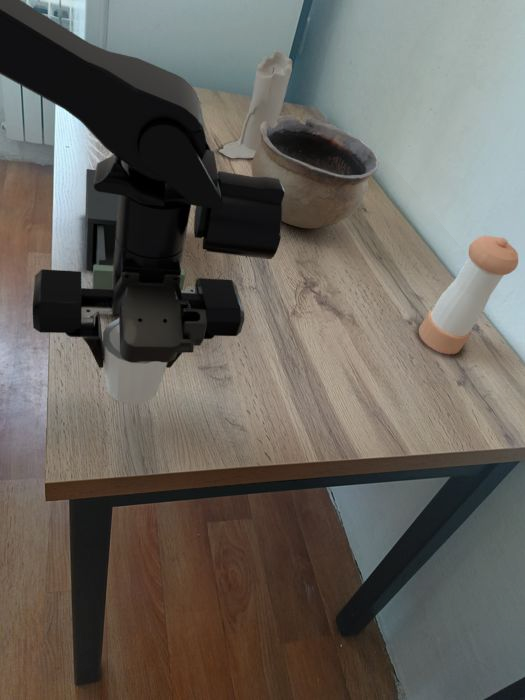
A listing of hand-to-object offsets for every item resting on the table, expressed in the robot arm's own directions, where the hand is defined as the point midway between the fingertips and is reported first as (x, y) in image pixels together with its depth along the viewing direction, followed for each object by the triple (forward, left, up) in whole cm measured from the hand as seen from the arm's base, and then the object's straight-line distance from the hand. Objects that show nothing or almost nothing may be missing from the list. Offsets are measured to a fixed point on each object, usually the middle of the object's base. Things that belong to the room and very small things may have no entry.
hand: (134, 364), depth 56 cm
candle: (+30, +73, -8) cm, 80 cm away
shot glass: (0, 0, -3) cm, 3 cm away
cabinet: (+2, +33, -8) cm, 35 cm away
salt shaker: (+50, +13, -8) cm, 52 cm away
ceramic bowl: (+35, +47, -8) cm, 60 cm away
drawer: (+2, +20, -7) cm, 22 cm away
